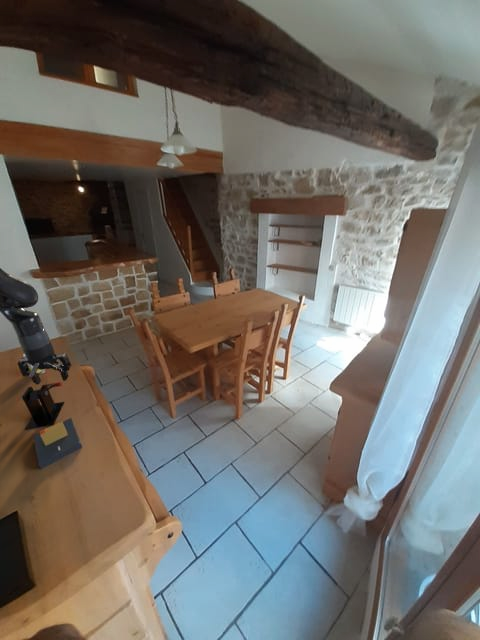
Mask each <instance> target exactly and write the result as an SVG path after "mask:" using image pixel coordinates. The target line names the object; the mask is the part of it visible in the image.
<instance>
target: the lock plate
mask: <svg viewBox="0 0 480 640" xmlns="http://www.w3.org/2000/svg"><path fill="white" fill-rule="evenodd" d="M62 422H63V425H64V427H65V429H66V431H67V434H68V435H67V436H65V437H63V438H61V439H59V440H57V441H55V442H53V443H51V444H49V445H47V446H45V444H44V442H43V440H42V438H41V436H40V431H39V432H37V433H35V434H33V435H32V437H33V441H34V447H35V453H36V459H37V463H38V466H39V468H40V469H41V470H43V469H45V468H46V467H48V466H50V465H52V464H54V463H55V462H57V461H60V460H61V459H64V458H65V457H67V456H69V455H71V454H72V453H74V452H76V451H78V450H80V449H82V448H83V445H82V442H81V439H80V436H79V434H78V431H77V428H76V425H75V423H74V421H73V418H72V417H70V418H68V419H65V420H63V421H62Z"/></svg>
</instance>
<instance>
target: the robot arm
mask: <svg viewBox="0 0 480 640" xmlns="http://www.w3.org/2000/svg"><path fill="white" fill-rule="evenodd" d="M38 301H39V293H38V291H37V290H36V289H35V288H34V287H33V286H32V285H31V284H30V283H28V282H26V281H25V280H23V279H20V278H19V277H16V276H15V275H12V274H10V273H7V272H6V271H5V270H4V269H2V268H1V267H0V313H1V314H2V316H4V318H5V319H6V320H7V321H8V322H9V323H10V324H11V326H12V328H13V330H14V332H15V335H16V336H17V341H18V344H19V345H20V348H21V349H22V352H23V354H25V356H26V358H27V359H25V358H24V357H22V358H21V357H20V360H18V362H17V366H18V369H19V370H20V373H21V375H22V377H27V376H28V377H30V379H31V381H32V383H33V384H35V385H36V386H37V385H40V384H41V382H42V380H41V377H40V374H38V373H36V372H37V370H38V369H40V370H43V369H45V370H49V369H50V370H51V369H52V370H53V371H56V372H57V371H58V372H59V373H60V376H61V379H62V381H63V382H66V381H67V380H68V379H69V376H70V375H69V371H70V369H71V367H72V366H73V365H72V363H71V361H70V359H69V356H68V355H67V353H66V352H63V353H62V354H56V353H55V349H54V347H53V344H52V341H51V338H50V337H49V334H48V332H47V330H46V328H45V326H44V324H43V322H42V319H41V317H40V315H39V314H38V313H37V312H36V311H35V312H34V311H32V310H31V311H30V310H27V309H28V308H32V307H34V306H35V305H37V303H38ZM28 363H29V364H30V365H32V366H34V367H33V368H32V370H29V367H28Z"/></svg>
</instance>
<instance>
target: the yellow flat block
mask: <svg viewBox="0 0 480 640" xmlns="http://www.w3.org/2000/svg"><path fill="white" fill-rule="evenodd" d="M39 432H40V436H41V438H42V440H43V442H44V444H45V446H47V445H49V444H51V443H53V442H55V441H57V440H59V439H61V438H63V437H65V436H67V435H68V434H67V431H66V429H65V427H64V425H63V421H59V422H58V423H54V425H50V426H48V427H47V428H43V429H41V430H40V431H39Z"/></svg>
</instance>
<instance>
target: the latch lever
mask: <svg viewBox="0 0 480 640" xmlns="http://www.w3.org/2000/svg"><path fill="white" fill-rule="evenodd" d="M44 385H47V388H48V390H49V391H50V390H51V389H53V388H57V387H62V385H63V383H62V382H61V381H59V382H51V383H45V384H44ZM33 390H34V391H32V392H31V393H29V394H30V400H37V399H38V400H39V398H38V396H37V394H38V392H39V390H40V389H33Z"/></svg>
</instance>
